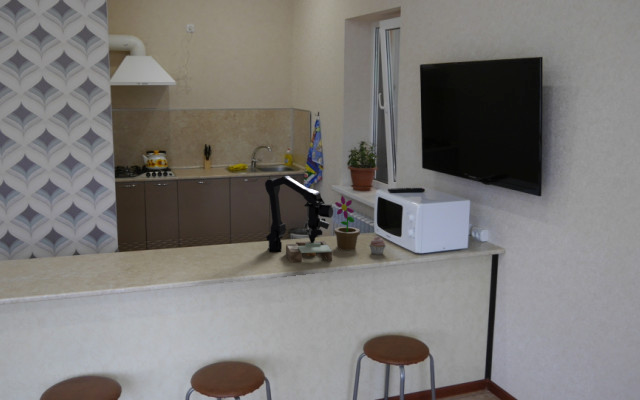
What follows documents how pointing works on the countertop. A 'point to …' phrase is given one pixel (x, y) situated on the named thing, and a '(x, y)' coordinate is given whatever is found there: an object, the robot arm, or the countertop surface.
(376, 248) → the cupcake
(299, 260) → the puzzle board
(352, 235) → the flowerpot
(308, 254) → the block
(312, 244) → the sliding cover
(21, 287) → the countertop surface
